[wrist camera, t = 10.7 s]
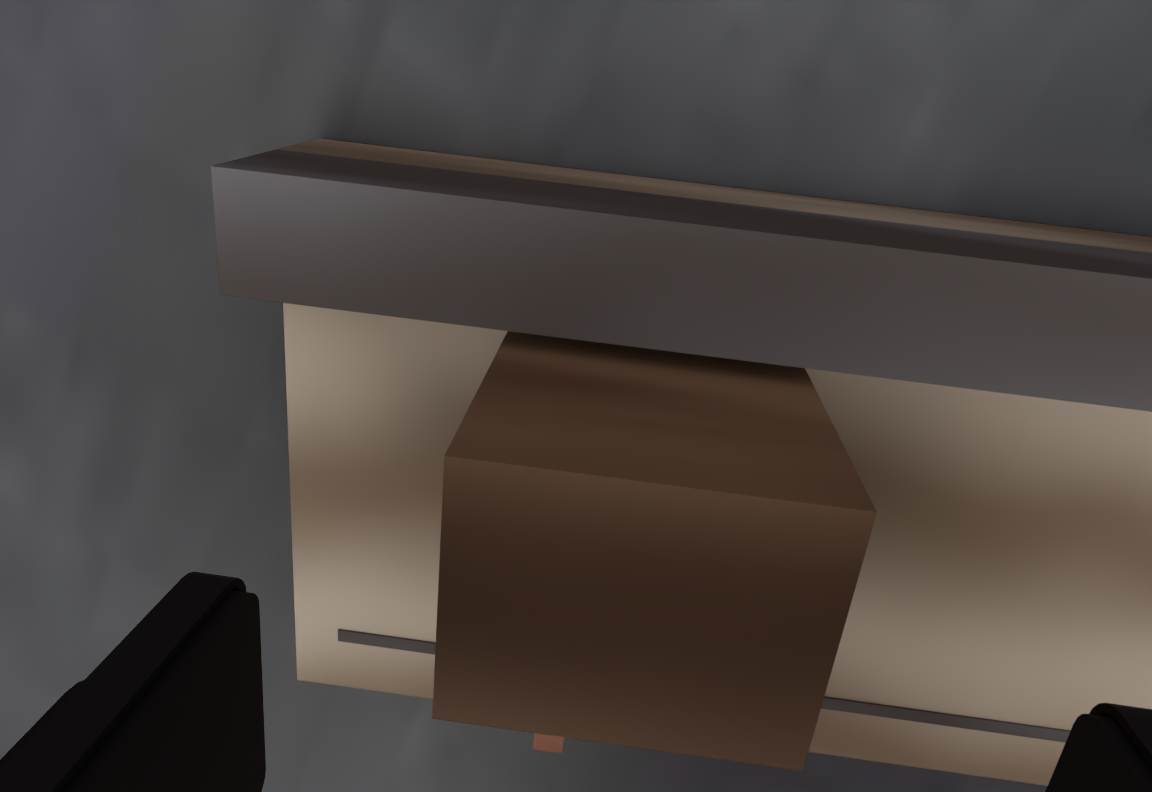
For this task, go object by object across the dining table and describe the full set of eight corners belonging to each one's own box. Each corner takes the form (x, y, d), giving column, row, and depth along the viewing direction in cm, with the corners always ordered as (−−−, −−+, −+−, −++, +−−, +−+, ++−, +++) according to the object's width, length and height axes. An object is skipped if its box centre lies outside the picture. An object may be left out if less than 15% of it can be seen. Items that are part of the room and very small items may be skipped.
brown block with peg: (710, 713, 18) (737, 998, 13) (488, 682, 18) (422, 950, 13) (791, 342, 15) (877, 511, 9) (518, 308, 15) (444, 455, 10)
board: (1432, 810, 20) (1625, 997, 16) (328, 655, 21) (253, 796, 17) (1785, 312, 15) (2194, 403, 11) (319, 138, 16) (210, 166, 12)
